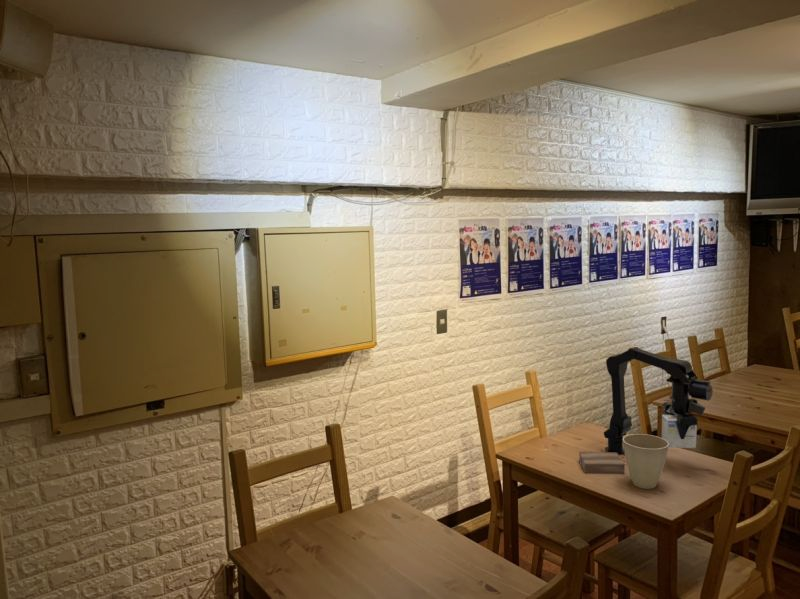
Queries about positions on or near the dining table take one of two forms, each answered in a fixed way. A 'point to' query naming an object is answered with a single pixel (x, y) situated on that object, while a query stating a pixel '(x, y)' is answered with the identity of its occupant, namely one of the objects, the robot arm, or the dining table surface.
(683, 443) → the light bulb box
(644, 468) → the plant pot
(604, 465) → the walnut block
